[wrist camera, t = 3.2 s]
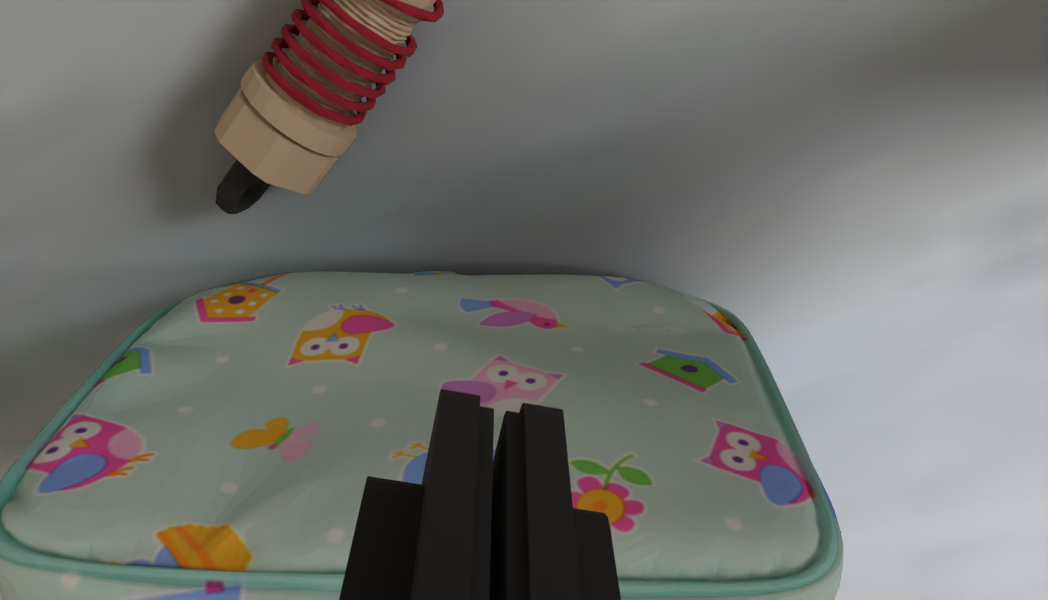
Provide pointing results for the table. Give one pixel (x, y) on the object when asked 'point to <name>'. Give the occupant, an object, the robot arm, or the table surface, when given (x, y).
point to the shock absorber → (313, 93)
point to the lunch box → (412, 438)
